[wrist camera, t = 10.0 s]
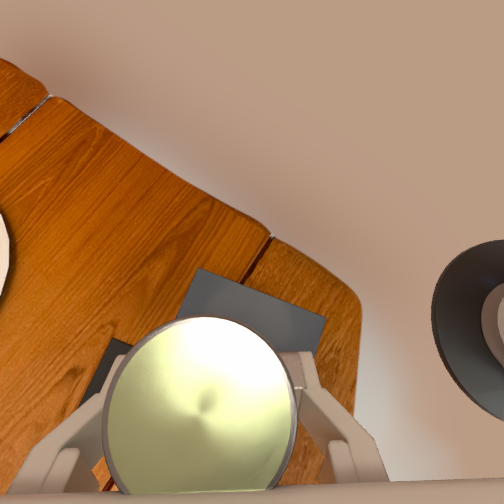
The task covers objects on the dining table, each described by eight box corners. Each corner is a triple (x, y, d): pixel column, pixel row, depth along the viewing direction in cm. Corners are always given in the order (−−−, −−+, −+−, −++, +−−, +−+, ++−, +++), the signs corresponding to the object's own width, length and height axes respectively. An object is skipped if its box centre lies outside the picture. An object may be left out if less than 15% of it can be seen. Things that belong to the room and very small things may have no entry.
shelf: (303, 319, 39) (326, 317, 29) (279, 393, 37) (294, 421, 26) (210, 282, 40) (198, 267, 29) (180, 352, 38) (155, 363, 27)
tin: (277, 337, 17) (323, 354, 7) (248, 420, 16) (257, 572, 6) (203, 307, 17) (154, 287, 8) (170, 387, 16) (61, 482, 6)
